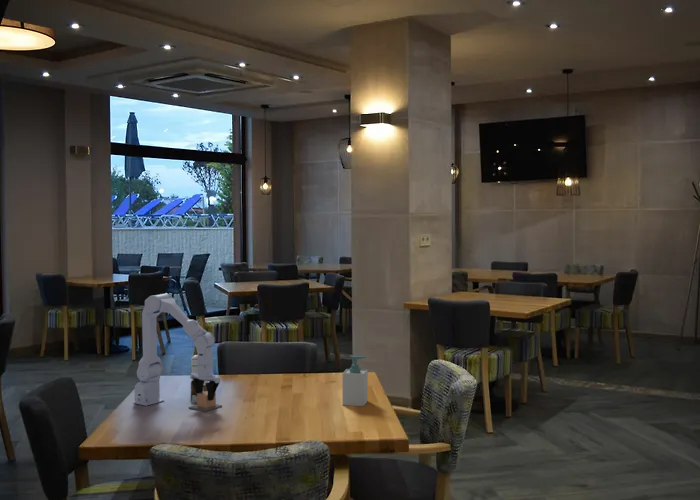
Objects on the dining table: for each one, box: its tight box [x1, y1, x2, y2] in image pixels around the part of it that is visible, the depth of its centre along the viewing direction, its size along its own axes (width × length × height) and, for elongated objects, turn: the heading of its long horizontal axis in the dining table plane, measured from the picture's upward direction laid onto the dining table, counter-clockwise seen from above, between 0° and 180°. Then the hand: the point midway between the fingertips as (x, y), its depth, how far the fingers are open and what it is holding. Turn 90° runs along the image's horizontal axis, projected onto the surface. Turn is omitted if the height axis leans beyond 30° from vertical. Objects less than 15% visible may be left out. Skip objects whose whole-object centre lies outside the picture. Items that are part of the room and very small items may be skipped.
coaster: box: [188, 403, 223, 413], centre depth 282 cm, size 9×9×1 cm
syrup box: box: [190, 354, 209, 383], centre depth 313 cm, size 6×6×14 cm
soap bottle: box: [341, 355, 369, 407], centre depth 287 cm, size 9×9×19 cm
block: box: [196, 391, 217, 408], centre depth 282 cm, size 5×5×5 cm
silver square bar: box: [191, 394, 197, 404], centre depth 294 cm, size 10×3×3 cm, turn 170°
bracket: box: [190, 382, 207, 400], centre depth 294 cm, size 4×8×7 cm, turn 56°
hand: (205, 399), depth 281 cm, fingers open, 6 cm apart
